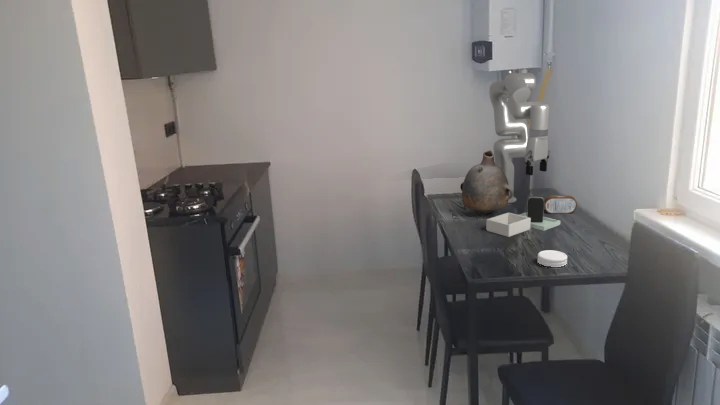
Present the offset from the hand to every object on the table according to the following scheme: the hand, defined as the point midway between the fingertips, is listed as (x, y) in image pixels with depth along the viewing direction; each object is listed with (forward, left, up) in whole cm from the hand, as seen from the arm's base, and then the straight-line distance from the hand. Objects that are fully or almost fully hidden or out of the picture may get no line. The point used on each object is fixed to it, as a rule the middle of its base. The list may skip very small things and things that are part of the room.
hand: (536, 172), depth 230 cm
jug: (-24, -4, -23) cm, 33 cm away
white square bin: (-2, -16, -23) cm, 28 cm away
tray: (0, 0, -23) cm, 23 cm away
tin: (-1, +21, -23) cm, 31 cm away
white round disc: (+32, -35, -23) cm, 53 cm away
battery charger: (0, 0, -22) cm, 22 cm away
